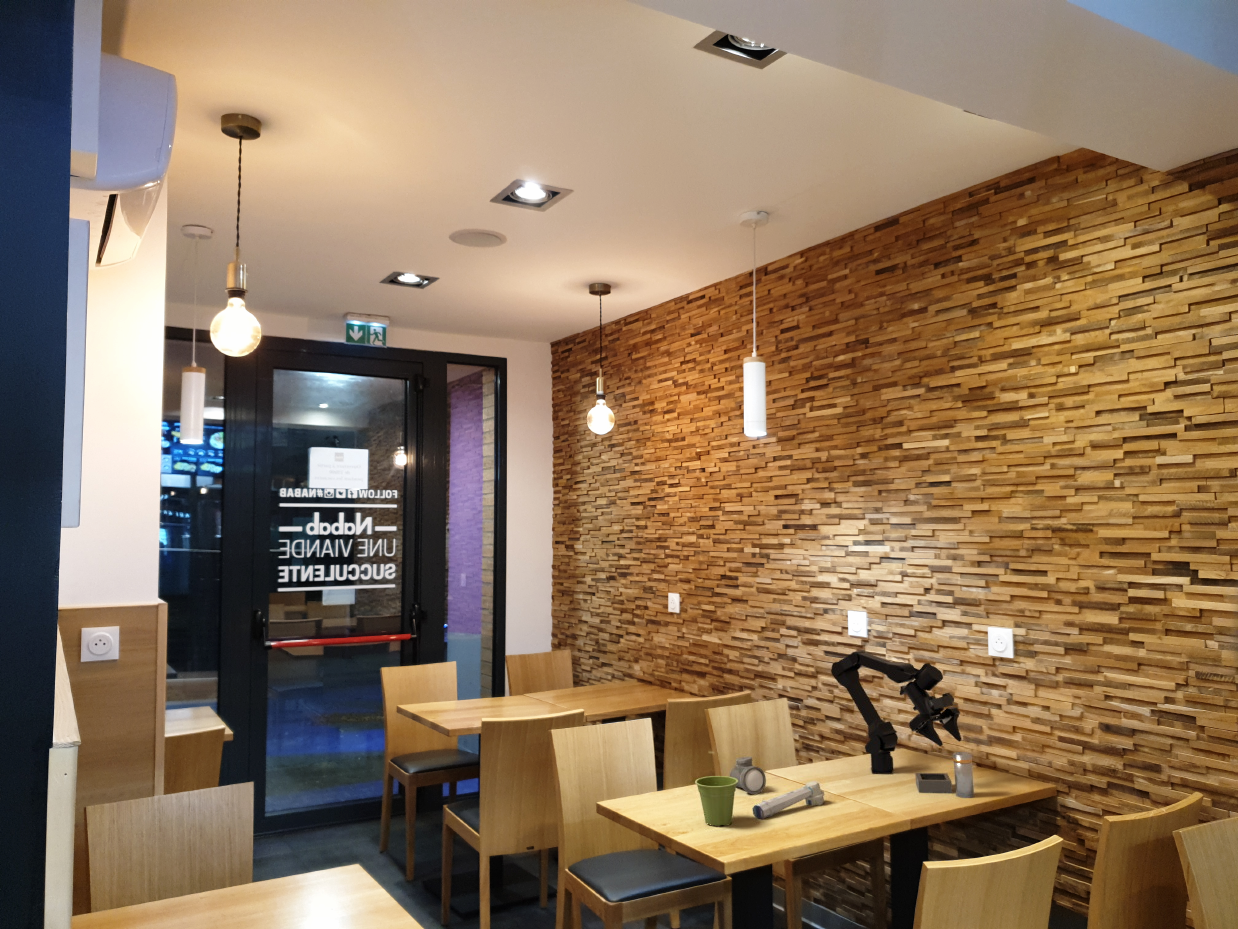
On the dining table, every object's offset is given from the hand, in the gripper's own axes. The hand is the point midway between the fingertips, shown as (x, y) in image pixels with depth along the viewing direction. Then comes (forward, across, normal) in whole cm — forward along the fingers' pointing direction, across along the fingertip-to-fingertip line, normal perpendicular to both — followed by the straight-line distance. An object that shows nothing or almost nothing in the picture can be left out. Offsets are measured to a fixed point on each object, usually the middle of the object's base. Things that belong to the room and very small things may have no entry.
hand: (951, 743), depth 279 cm
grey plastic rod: (0, -52, +22) cm, 56 cm away
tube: (+15, -4, +4) cm, 16 cm away
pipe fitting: (-16, -47, +40) cm, 64 cm away
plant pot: (-4, -75, +25) cm, 79 cm away
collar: (+8, -5, +12) cm, 15 cm away
